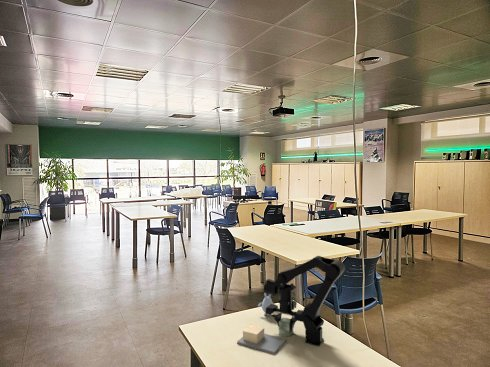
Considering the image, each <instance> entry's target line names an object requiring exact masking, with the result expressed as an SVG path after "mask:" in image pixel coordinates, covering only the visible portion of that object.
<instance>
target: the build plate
mask: <svg viewBox="0 0 490 367" xmlns="http://www.w3.org/2000/svg"><path fill="white" fill-rule="evenodd" d="M286 342H287V338H284V337H279V336H276V335H271V334H268V333H265V328H264V327H261V326H258V325H254V324H250V325H248V326H247V327H246V328H244V329H243V330H242V337H240V339H238V340H237V344H238V345H240V346H244V347H248V348H251V349H255V350H258V351H261V352H266V353H268V354H272V355H275V354H276V353H277V352H278V351H279V350H280V349H281V348H282V347H283V346H284V345H285V343H286ZM237 344H236V345H237Z"/></svg>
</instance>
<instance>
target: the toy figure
mask: <svg viewBox="0 0 490 367" xmlns="http://www.w3.org/2000/svg"><path fill="white" fill-rule="evenodd" d="M263 296H264V298H263V300H262V302H259V303H258V305H257V307H258V308H261V309H262V311H263V312H264V313H263V315H264V316H269V317H270V316H271V317H272V314H271V315H270V314H266V312H265V310H266V308H267V307H268V306H269V305H270V304H273V305H276V304H275V303H274V302H273V299H272V298H271V297H272V295H271V294H266V293H263Z"/></svg>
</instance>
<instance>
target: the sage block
mask: <svg viewBox="0 0 490 367" xmlns="http://www.w3.org/2000/svg"><path fill="white" fill-rule="evenodd" d="M290 319H291V318H288V317H284V316H282V317H281V320H280V321H279V326H278V334H279V335H280V336H285V337H287V338H288V337H290V336H292V334H293V333H294V330H293V331H292V332H291V331H290Z"/></svg>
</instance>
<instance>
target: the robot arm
mask: <svg viewBox="0 0 490 367" xmlns="http://www.w3.org/2000/svg"><path fill="white" fill-rule="evenodd" d="M314 268H317V269H318V270H321V272H323V273H324V279H323V282H322V283H321V285H320V287H319V289H318V291H317V293H316V295H315V296H314V298H313V300H312V302H308V304H305V306H304V308H303V309H302V310H301V309H298V310H296V311H294V310H295V309H297V305H298V304H297V302H298V301H296V300H294V298H293V291H294V290H296V288H297V286H296V285H295V284H294V283H290V282H292V281H293V280H294V279H296V278H297V277H298V276H300V275H302V274H304V273H307V272H308V271H310V270H313V269H314ZM345 271H346V266H345V263H344V262H343V261H341V260H338V259H337V260H335V259H333V258H329V257H323V256H322V255H316V256H314V257H312V259H310V260H307V261H306V262H303V263H302V264H300V265H297V266H294V267H290V268H286V269H284V270H282V271H280V272H279V273H277V277H276V280H275V279H274V280H273V279H270V278H268V279H266V280H265V283H264V285H263V286H264V287H263V292H264V293H266V295H269V294H271V296H276V297H277V296H278V295H279V300H278V304H279V306H278V304H275V305H273V304H270V305H269V306H268V307H267V308H266V310H265V312H266V314H270V315H271V314H272V315H271V317H272V318H273V319H274V321H275V322H276V324H277V327H279V321H280V320H281V319H282V317H283V316H282V315H286V316H291V318H289V319H290V331H291V332H292V331H293V332H294V327H295V325H296V323H297V322H301V323H303V326H304V328H305V331H304V332H305V333H304V334H305V338H304V339H305V341H304V342H305V343H306V344H310V345H313V346H319V347H320V346H321V344H322V343H323V341H324V339H325V338H324V337H323V327H322V326H323V325H324V322H325V320H324V319H323V317H322V316H321V315H320V314H321V308H322V306H323V304H324V302H325V300H326V298H327V297H328V294H330V291H331V290H332V287H333V286H334V284H335V282H336V281H337V280H338V279H339V278H340V277H341V276H342V274H343V273H344V272H345ZM289 283H290V284H289ZM264 293H263V294H264ZM265 312H264V313H265Z"/></svg>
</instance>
